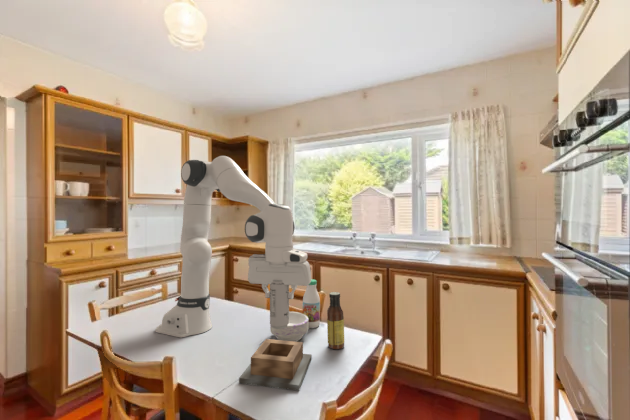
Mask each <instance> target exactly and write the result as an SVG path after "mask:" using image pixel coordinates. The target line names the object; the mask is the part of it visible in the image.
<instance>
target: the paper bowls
mask: <svg viewBox="0 0 630 420" xmlns="http://www.w3.org/2000/svg"><path fill="white" fill-rule="evenodd" d="M308 320H309V319H308V317H307V316H306V315H305V314H302V312H298V311H289V324H288V325H287V327H286V328H283V329H275V328H272V325H271V324H269V325H270V327H269V328H270V329H269V331H270V333H271V335H272V336H274V337H275V338H276V340H283V341H294V342H299V341H300V340H301V339H302V338H303V336H304V335H306V334H307V333H308V332H309V328H308V325H309V323H308Z"/></svg>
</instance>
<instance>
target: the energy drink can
mask: <svg viewBox="0 0 630 420" xmlns="http://www.w3.org/2000/svg"><path fill="white" fill-rule="evenodd" d="M269 291H270V298H269V325H272V328H275V329H283V328H286V327H287V325H288V324H289V312H290V299H288V293H289V292H290V285H285V284H284V283H283V282H282V280H273V282H272V283H271V284H269Z"/></svg>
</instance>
